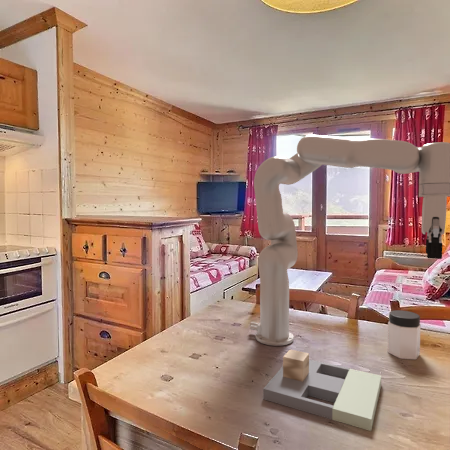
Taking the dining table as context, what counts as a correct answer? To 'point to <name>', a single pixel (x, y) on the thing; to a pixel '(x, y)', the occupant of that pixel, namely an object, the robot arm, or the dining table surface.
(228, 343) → the dining table surface
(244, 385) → the dining table surface
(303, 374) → the birch block
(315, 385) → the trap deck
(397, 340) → the jar
